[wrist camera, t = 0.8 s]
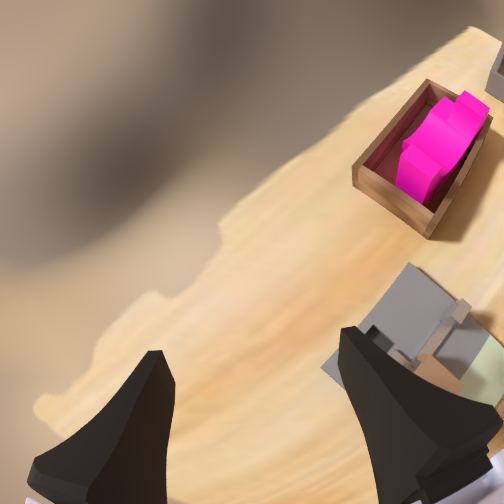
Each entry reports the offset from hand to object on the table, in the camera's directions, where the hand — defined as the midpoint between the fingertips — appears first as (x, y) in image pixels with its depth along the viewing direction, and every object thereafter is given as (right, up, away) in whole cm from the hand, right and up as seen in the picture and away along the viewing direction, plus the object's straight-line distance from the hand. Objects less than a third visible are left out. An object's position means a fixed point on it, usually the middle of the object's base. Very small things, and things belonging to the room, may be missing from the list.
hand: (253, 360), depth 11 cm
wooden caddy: (+22, +16, +19) cm, 33 cm away
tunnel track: (+17, -7, +12) cm, 22 cm away
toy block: (+22, +15, +19) cm, 33 cm away
